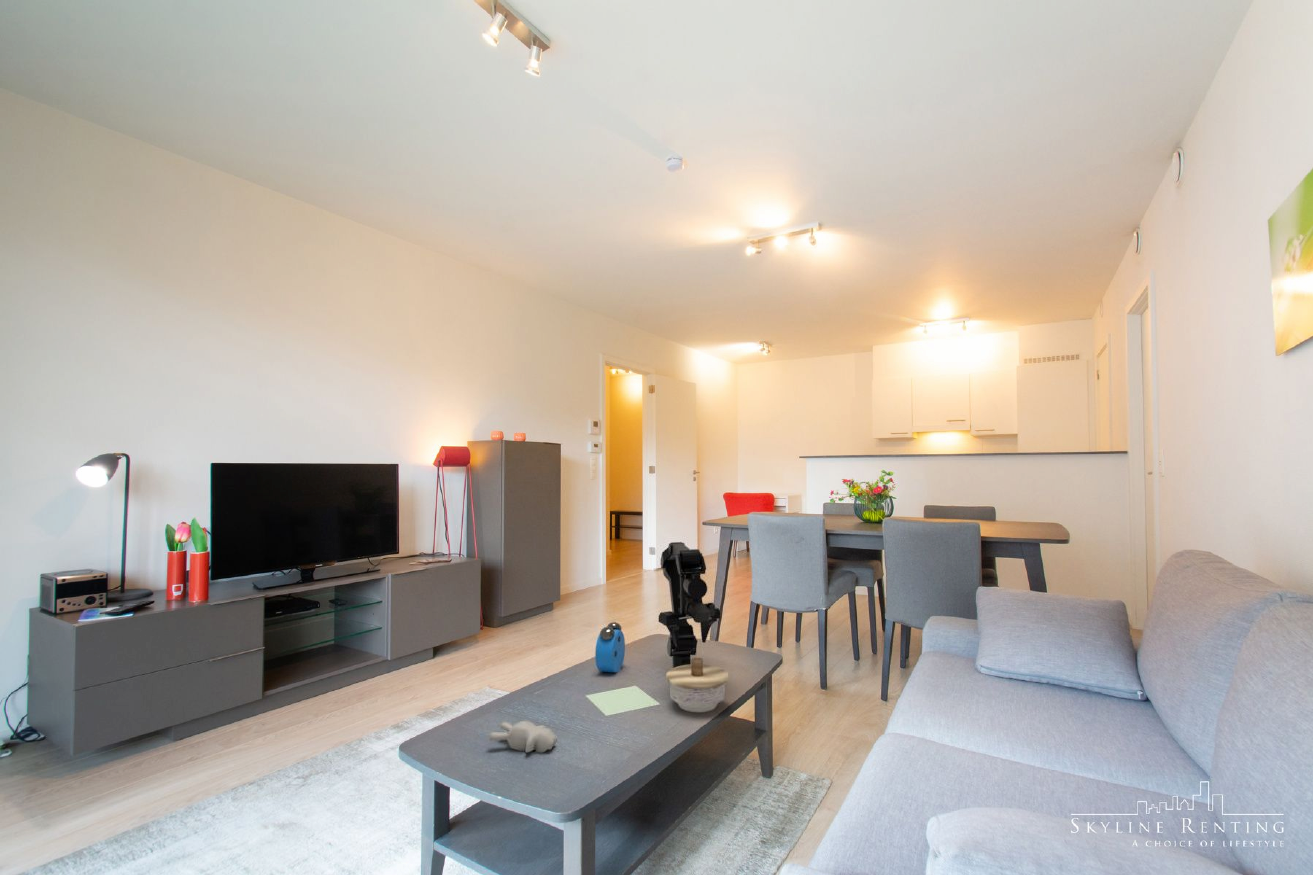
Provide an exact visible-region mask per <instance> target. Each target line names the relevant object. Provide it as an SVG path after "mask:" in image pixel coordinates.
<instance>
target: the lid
mask: <svg viewBox="0 0 1313 875" xmlns="http://www.w3.org/2000/svg"><path fill="white" fill-rule="evenodd" d="M665 675H666V681H667V682H668V683H669V684H670V683H671V684H673V685H675V686H678V687H682V688H688V689H708V688H714V687H718V686H721V685H723V684H725V685H726V683H727V682H728V680H729V673H728V671H726V670H725V669H724V668H721V667H718V666H715V665H710V664H704V659H703V658H701V657H693V658H691V664H690V665H682V666H678V667H675V668H673V667H672V668H670V669H668V671H667V672H666V674H665Z"/></svg>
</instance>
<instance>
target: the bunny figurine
mask: <svg viewBox="0 0 1313 875" xmlns="http://www.w3.org/2000/svg"><path fill="white" fill-rule="evenodd" d="M500 729H502V730H505V731H507V732H503V731H502V732H500V731H492V732H490V734H489V738H488V739H489V741H492V742H493V741H504V740H507V743H508V744H509V747H510V749H513V750H516V751H523V752H524V751H525V753H530V752H532V751H534V750H535V752H536V753H542V754H543V753H545V752H546V751H547V750H551V749H552V748H553V747H554V746H555V745H556V744H557V742H558V735H556V734H555V733H554V732H553V730H552V729H551V728H549V727H547V726H545V725H543V724H541V725H535V724H534V722H531V721H526V720H521V721H520V722H518V723H516V724H514V725H512V724H511V723H509V722H507V721H503V722H502V723H501V722H500Z"/></svg>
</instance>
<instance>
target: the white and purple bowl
mask: <svg viewBox="0 0 1313 875" xmlns="http://www.w3.org/2000/svg"><path fill="white" fill-rule="evenodd" d="M669 696H670V699H671V700H672V701H674V702H675V703H676V704H678V707H679V708H680V709H682V710H683V711H686V712H691V713H705V712H706V713H707V712H710V711H713V710H715V709H716V707H717V706H718V705H719V704H718V703H721V702H723V701H724V699H725V698H726V683H725V684H723V685H721V686H718V687H714V688H708V689H688V688H682V687H678V686H675V685H673V684H671V683H669Z"/></svg>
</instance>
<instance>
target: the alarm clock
mask: <svg viewBox="0 0 1313 875" xmlns="http://www.w3.org/2000/svg"><path fill="white" fill-rule="evenodd" d="M625 653H626V641H625V635H624V633H623V631H622V626H621V624H620V623H618V622H616V621H612V622H610V623H608V624H607V626H605V627H603V628H602V629H601V630H600V632H599V634H598V636H597V640H596V644H595V652H594V655H595V656H594V658H595V666H596V667H597V670H598V671H600V674H602V673H619V671H621V669H622V668H623V667H622V666H623V664H624V660H625Z"/></svg>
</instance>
